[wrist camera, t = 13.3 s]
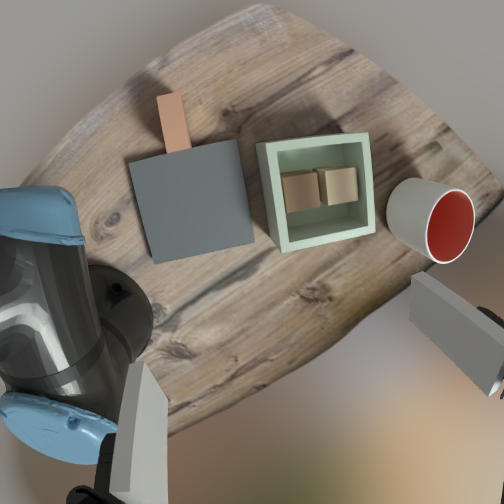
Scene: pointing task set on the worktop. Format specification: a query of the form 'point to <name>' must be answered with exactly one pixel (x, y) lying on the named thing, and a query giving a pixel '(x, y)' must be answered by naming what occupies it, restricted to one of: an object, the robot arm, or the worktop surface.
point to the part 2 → (337, 184)
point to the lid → (191, 192)
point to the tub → (324, 217)
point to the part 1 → (300, 190)
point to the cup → (431, 218)
